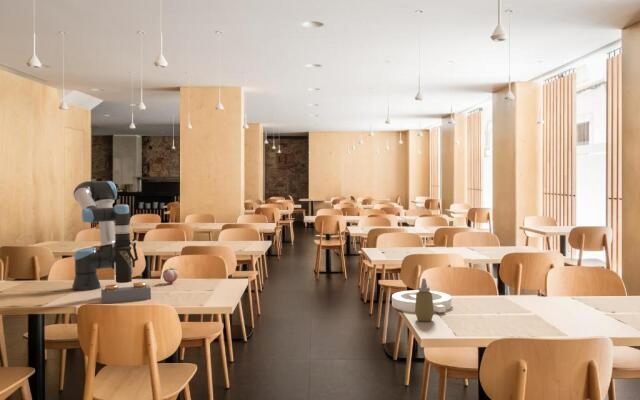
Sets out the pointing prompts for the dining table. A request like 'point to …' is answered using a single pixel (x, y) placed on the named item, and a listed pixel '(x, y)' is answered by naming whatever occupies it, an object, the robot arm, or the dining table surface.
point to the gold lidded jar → (139, 285)
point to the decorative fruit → (170, 275)
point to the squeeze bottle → (424, 303)
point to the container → (123, 264)
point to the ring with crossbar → (408, 301)
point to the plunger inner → (111, 287)
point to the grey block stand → (125, 294)
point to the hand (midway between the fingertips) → (123, 273)
